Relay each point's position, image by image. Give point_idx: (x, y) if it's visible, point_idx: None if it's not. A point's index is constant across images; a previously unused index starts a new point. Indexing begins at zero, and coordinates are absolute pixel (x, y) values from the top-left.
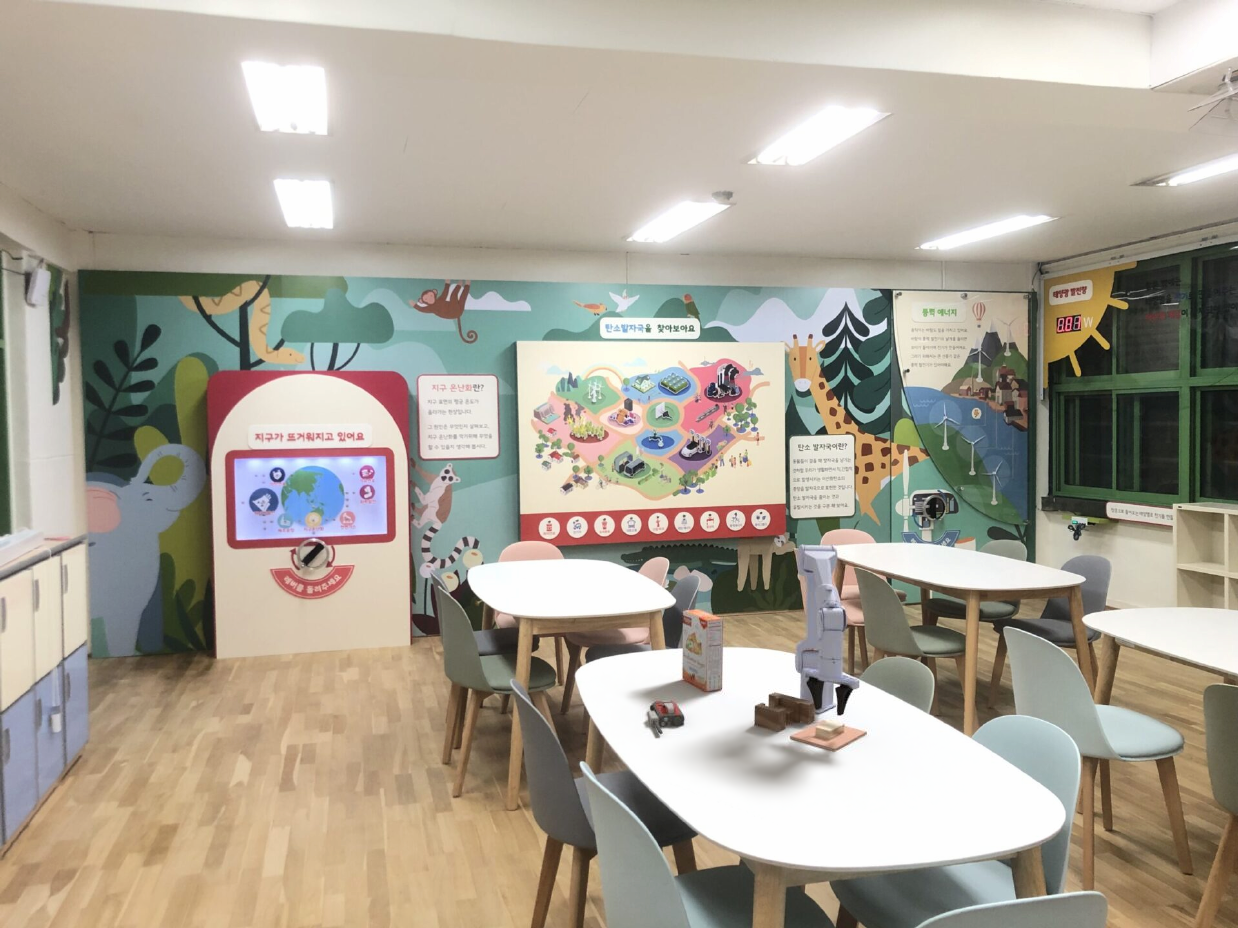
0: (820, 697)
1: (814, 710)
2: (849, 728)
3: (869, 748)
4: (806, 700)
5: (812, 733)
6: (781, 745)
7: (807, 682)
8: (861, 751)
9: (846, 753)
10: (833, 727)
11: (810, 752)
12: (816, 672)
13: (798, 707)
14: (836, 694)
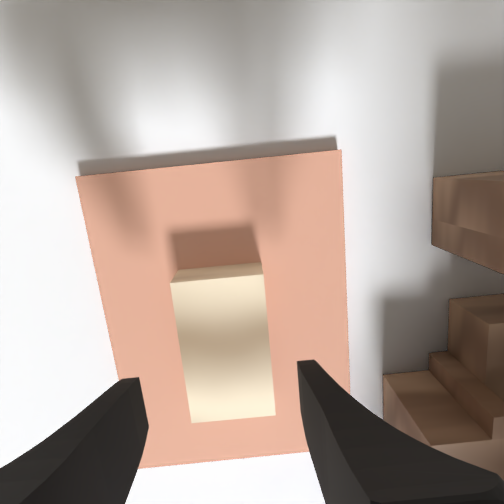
0: (320, 466)
1: None
2: (210, 446)
3: (17, 332)
4: None
5: (284, 269)
6: (308, 16)
7: (498, 498)
8: (10, 273)
9: (30, 196)
10: (194, 341)
11: (143, 57)
12: None
13: (475, 403)
14: (28, 493)
